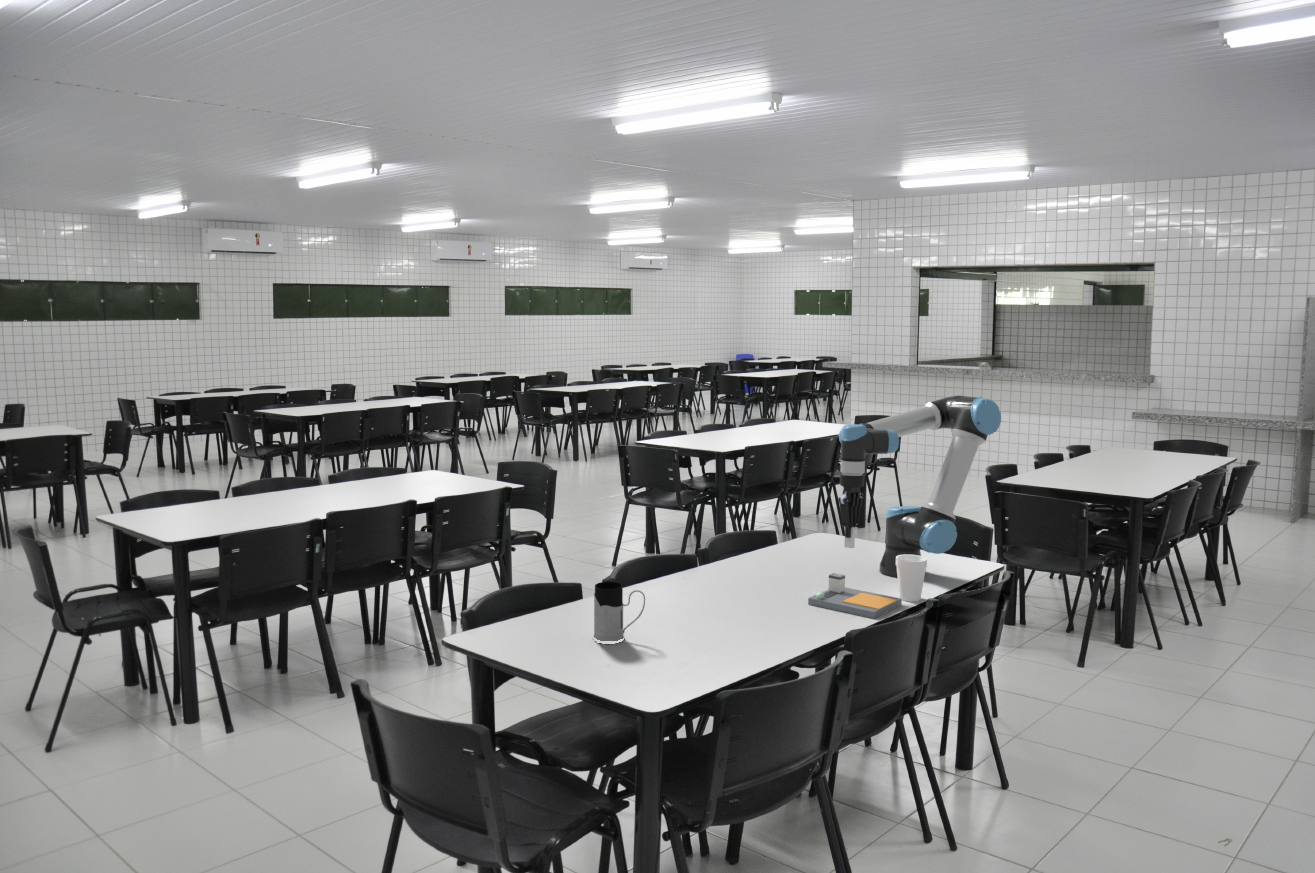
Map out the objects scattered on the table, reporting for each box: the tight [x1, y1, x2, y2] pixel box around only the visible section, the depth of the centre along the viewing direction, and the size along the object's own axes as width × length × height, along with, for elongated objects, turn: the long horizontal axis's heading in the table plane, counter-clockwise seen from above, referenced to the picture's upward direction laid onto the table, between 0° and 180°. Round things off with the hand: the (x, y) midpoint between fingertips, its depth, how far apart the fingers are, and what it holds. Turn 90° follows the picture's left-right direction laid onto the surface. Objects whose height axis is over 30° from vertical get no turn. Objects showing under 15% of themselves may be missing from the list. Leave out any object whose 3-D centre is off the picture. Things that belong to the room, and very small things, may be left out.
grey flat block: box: [807, 586, 903, 620], centre depth 294 cm, size 18×22×4 cm
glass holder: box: [593, 581, 646, 641], centre depth 260 cm, size 9×14×15 cm, turn 88°
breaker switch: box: [828, 572, 846, 593], centre depth 301 cm, size 3×4×5 cm
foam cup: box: [896, 555, 928, 603], centre depth 300 cm, size 10×9×13 cm
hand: (849, 547), depth 306 cm, fingers closed
